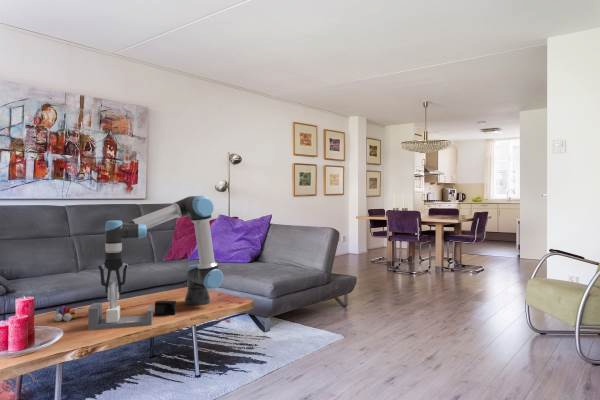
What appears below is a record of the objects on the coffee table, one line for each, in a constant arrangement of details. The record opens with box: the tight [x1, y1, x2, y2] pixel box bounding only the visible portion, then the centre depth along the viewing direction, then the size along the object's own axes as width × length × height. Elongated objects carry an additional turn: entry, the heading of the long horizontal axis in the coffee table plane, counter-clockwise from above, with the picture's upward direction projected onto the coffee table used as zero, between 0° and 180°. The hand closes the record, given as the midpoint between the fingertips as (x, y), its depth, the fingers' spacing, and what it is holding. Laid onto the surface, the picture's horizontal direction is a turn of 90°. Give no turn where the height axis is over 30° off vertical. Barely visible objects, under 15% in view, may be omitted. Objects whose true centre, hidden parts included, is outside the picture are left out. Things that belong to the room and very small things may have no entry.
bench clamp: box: [87, 302, 154, 331], centre depth 204 cm, size 28×12×10 cm, turn 107°
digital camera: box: [154, 300, 177, 317], centre depth 221 cm, size 10×5×7 cm, turn 96°
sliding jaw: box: [105, 282, 121, 323], centre depth 203 cm, size 5×9×18 cm, turn 17°
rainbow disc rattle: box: [54, 305, 77, 322], centre depth 212 cm, size 8×10×7 cm
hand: (113, 299), depth 203 cm, fingers closed on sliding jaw, 3 cm apart
